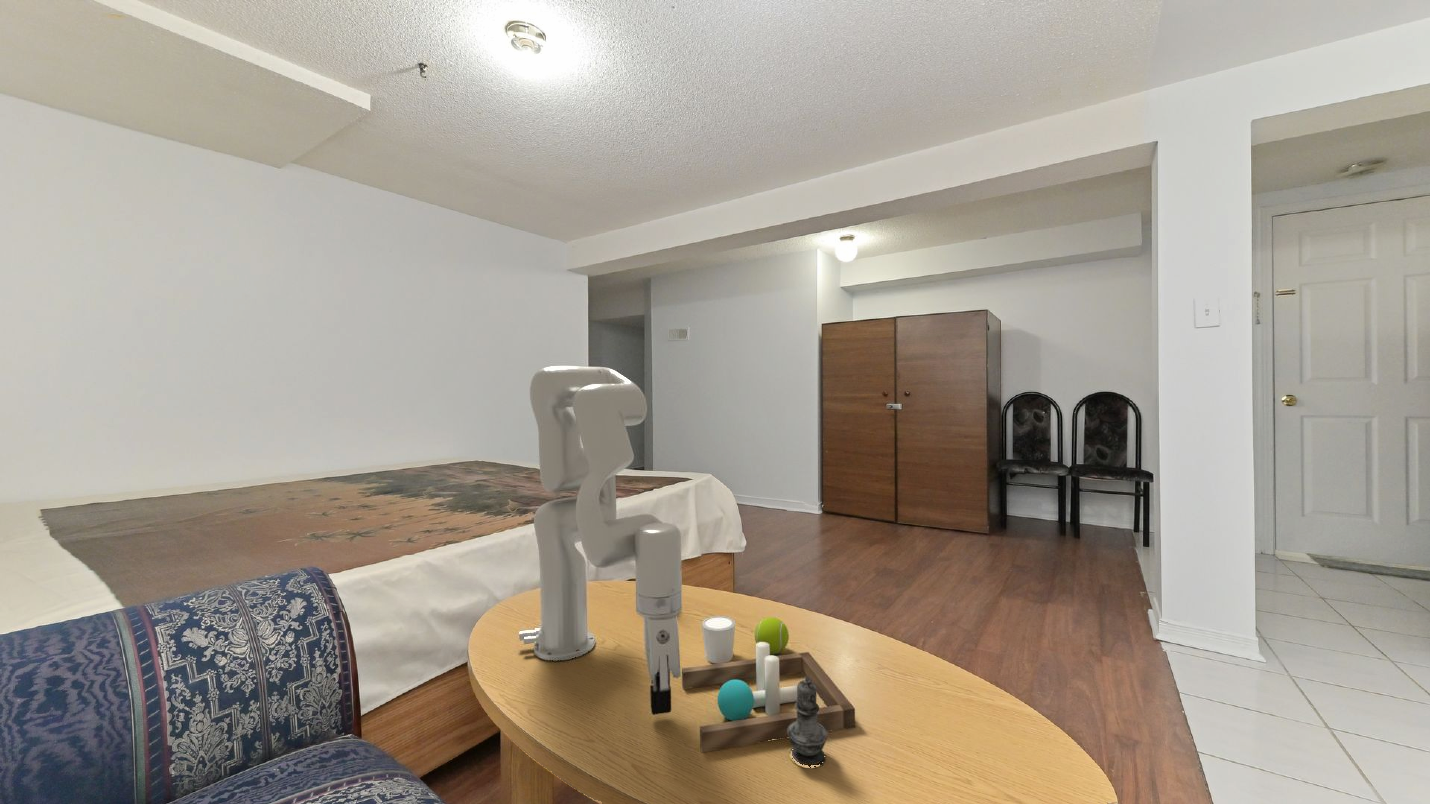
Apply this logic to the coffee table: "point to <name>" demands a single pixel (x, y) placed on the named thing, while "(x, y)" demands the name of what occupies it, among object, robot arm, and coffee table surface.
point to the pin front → (785, 696)
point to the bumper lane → (772, 726)
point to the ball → (735, 700)
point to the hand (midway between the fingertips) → (661, 710)
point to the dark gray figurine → (807, 727)
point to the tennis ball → (772, 634)
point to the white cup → (718, 638)
